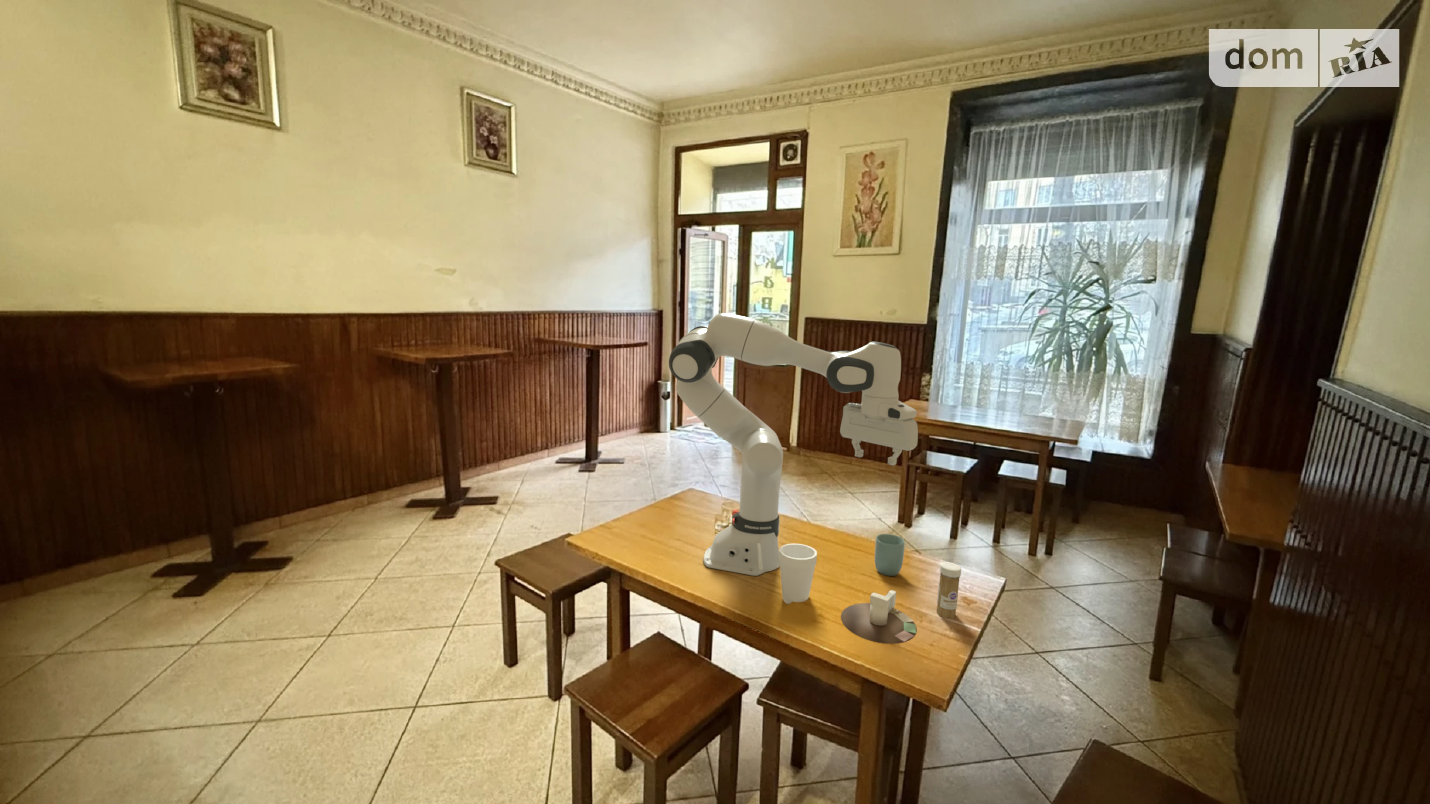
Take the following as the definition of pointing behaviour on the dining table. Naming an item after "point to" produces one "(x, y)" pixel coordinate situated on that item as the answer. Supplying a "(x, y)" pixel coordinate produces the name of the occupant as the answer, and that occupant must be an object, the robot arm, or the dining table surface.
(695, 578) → the dining table surface
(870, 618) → the cream toy mallet
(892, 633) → the dial
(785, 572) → the foam cup
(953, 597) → the sprinkles bottle
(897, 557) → the cup
